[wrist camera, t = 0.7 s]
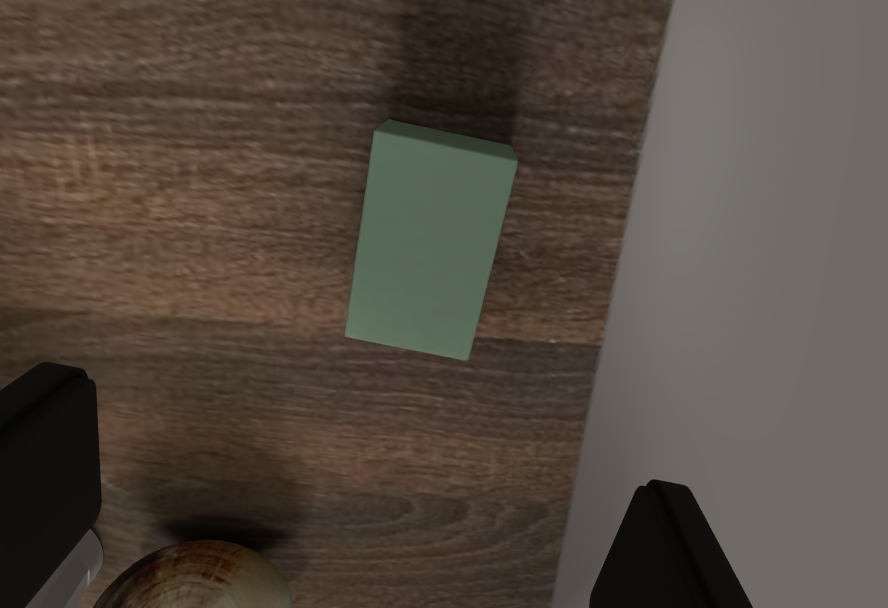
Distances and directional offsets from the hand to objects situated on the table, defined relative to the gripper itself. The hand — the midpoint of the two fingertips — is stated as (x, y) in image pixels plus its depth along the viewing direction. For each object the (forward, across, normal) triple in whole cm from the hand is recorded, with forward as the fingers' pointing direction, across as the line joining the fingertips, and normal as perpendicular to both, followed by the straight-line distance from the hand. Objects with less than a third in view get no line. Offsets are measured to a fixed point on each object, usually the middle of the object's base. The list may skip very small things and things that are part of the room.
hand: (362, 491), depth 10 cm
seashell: (+16, +8, +20) cm, 27 cm away
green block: (+15, 0, -1) cm, 15 cm away
